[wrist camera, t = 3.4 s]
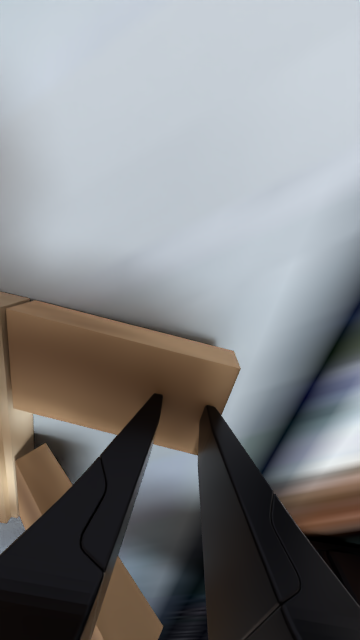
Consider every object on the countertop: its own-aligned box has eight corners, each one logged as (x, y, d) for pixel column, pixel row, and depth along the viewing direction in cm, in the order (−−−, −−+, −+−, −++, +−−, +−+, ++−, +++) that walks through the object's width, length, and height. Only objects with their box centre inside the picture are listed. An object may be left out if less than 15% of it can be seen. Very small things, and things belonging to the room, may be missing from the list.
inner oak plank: (139, 669, 8) (111, 730, 7) (45, 494, 13) (19, 515, 12) (163, 626, 7) (132, 697, 5) (45, 443, 11) (15, 460, 10)
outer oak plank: (203, 430, 10) (204, 457, 9) (36, 388, 10) (13, 408, 9) (233, 351, 9) (240, 368, 7) (35, 300, 9) (5, 308, 7)
